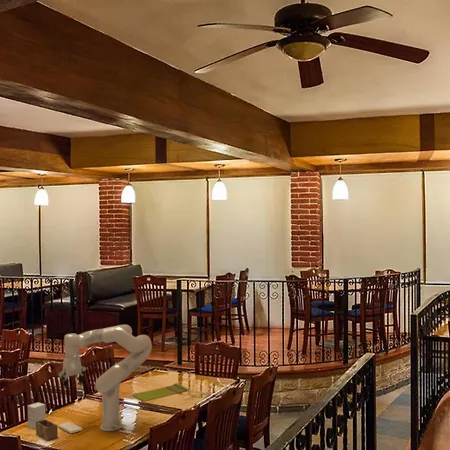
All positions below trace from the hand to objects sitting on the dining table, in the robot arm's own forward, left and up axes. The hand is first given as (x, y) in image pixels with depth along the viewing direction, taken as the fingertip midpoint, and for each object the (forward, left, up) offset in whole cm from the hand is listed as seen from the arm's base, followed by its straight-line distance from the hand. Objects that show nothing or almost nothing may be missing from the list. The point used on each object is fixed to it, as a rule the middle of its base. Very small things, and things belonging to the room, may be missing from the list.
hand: (73, 384), depth 325 cm
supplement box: (+15, +16, -24) cm, 32 cm away
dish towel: (+14, -72, -25) cm, 77 cm away
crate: (-4, +19, -24) cm, 30 cm away
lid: (-4, +5, -23) cm, 24 cm away
